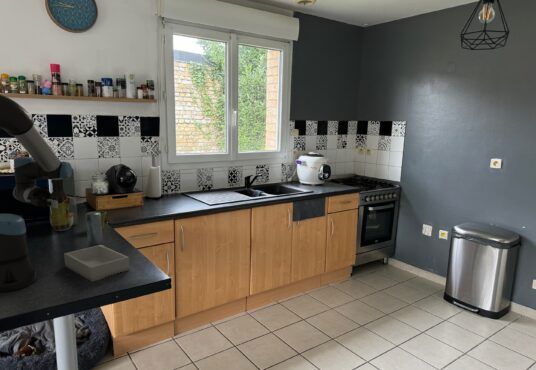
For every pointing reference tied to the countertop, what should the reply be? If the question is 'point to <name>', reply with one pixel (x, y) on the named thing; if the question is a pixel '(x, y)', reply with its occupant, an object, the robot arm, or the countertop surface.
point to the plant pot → (101, 217)
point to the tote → (96, 262)
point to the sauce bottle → (59, 206)
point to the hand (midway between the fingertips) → (66, 203)
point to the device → (70, 189)
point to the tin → (94, 229)
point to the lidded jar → (70, 221)
